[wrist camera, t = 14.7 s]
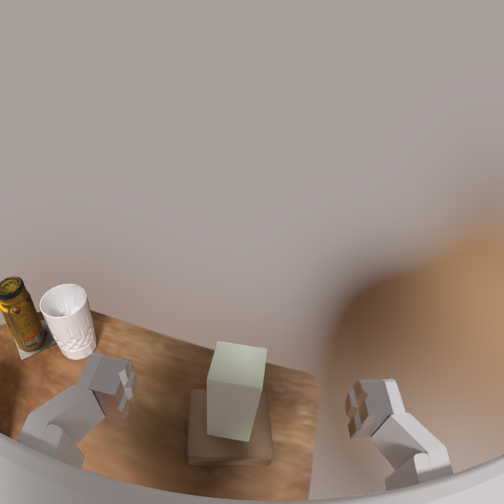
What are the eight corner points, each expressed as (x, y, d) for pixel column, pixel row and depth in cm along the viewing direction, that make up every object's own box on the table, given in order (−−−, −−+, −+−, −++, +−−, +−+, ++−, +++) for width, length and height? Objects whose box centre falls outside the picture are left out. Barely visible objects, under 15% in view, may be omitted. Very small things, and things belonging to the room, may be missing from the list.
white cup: (105, 331, 49) (93, 285, 43) (93, 366, 42) (76, 320, 37) (66, 326, 48) (51, 281, 42) (51, 359, 41) (31, 314, 36)
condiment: (12, 334, 43) (-11, 281, 37) (49, 317, 48) (31, 264, 42) (22, 360, 39) (-6, 306, 33) (61, 342, 45) (41, 286, 38)
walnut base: (189, 466, 32) (187, 455, 30) (191, 403, 40) (190, 388, 38) (268, 466, 33) (274, 456, 31) (262, 404, 41) (266, 390, 39)
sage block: (207, 434, 32) (207, 378, 26) (214, 402, 37) (217, 340, 31) (248, 441, 32) (262, 388, 26) (253, 408, 37) (267, 348, 30)
